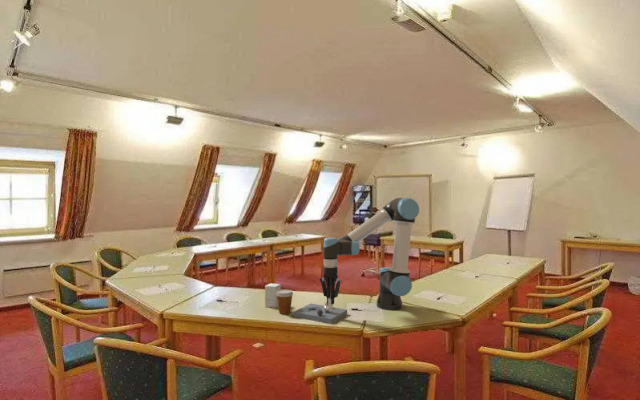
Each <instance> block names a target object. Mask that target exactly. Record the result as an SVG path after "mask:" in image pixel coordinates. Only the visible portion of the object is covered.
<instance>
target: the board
mask: <svg viewBox="0 0 640 400" xmlns="http://www.w3.org/2000/svg"><path fill="white" fill-rule="evenodd" d="M324 306H325V305H322V304H317V303H308V304H306V305H304V306H303V307H300V308H299V309H296V310H294V311H293V312H292V315H293V317H295V318H300V319H306V320H310V321H315V322H320V323H325V324H331V325H332V324H333V323H335V322H337V321H339V319H342V318H343V317H345V316H347V315H348V309H345V308H339V307H334V306H333V310H331V311H328V312H325V311H324V310H323V308H324ZM318 310H322V311H323V314H322V315H321V316H319V315H318V314H317V311H318Z"/></svg>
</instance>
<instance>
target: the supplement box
mask: <svg viewBox="0 0 640 400" xmlns="http://www.w3.org/2000/svg"><path fill="white" fill-rule="evenodd" d="M281 287H282V285H281V283H271V282H270V283H268V284H266V285H265V286H264V302H265V304H264V305H265V308H275V309H276V308H277V307H278V299H277V295H276V293H277V291H279V290H282V288H281ZM278 308H279V307H278Z"/></svg>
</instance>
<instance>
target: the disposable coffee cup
mask: <svg viewBox="0 0 640 400" xmlns="http://www.w3.org/2000/svg"><path fill="white" fill-rule="evenodd" d="M276 295H277V299H278V313H279V314H281V315H288V314H290V313H291V310H292V309H291V308H292V301H293V300H292V299H293V295H294V292H293V290H292V289H281V290H279V291H277V293H276Z"/></svg>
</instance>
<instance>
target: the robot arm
mask: <svg viewBox="0 0 640 400" xmlns="http://www.w3.org/2000/svg"><path fill="white" fill-rule="evenodd" d="M419 213H420V207H419V203H418V202H417V201H416V200H415V199H413V198H411V197H410V198H409V197H397V198H394V199H393V200H391V201H390V202H388V203H387V204H386V205H384V206H383V207H382V208H380V211H379V212H377V213H376V214H374V215H373V216H372V217H370V218H368V219H367V220H366V221H364V222H363V223H362V224H360V225H359V226H357V227H356V228H354V229H353V230H352V231H351V232H348V233H347V234H346V235H344V236H343V237H339V238H337V237H325V238H324V240H323V276H322V277H320V278H319V282H320V284H321V289H322V294H323V296H324V297H326V302H327V304H328V310H329V311H331V310H333V307H334V304H335V299H336V298H338V297H339V291H340V289H341V287H340V286H341V284H342V283H343V281H342V279H340V278H339V276H338V256H354V255H355V256H356V255H359V253H360V250H361V249H360V248H361V247H360V243H359V242H361V241H362V240H364V239H365V238H367V237H368V236H370V235H371V234H372V233H374V232H375V231H377V230H379V229H380V228H381V227H382V226H384V225H386V223H388V222H389V223H391V222H392V221H393V222H394V223H395V230H394V231H395V232H394V241H393V251H392V263H391V266H387V267H380V268H379V273H378V274H379V277H378V279H379V294H378V297H377V299H376V307H377V308H379V309H383V310H389V311H390V310H391V311H393V310H394V311H395V310H400V309H402V308H403V300H402V298H401V297H404V296H407V295H408V294H409V293H410V291H411V290H412V287H413V284H412V283H413V282H412V280H411V279H410V275H411V271H410V270H409V269H408V267H409V256H410V255H409V254H410V246H411V235H412V227H413V225H414V224H415V223H416V218H417V217H418V216H419Z"/></svg>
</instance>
